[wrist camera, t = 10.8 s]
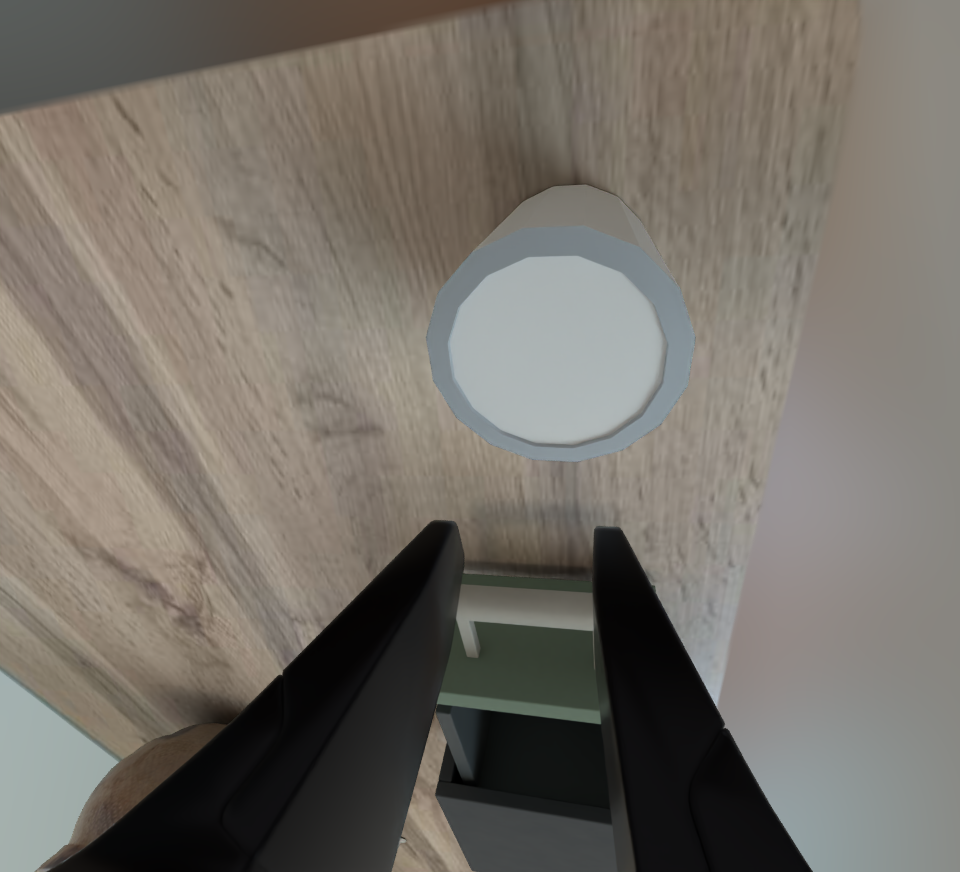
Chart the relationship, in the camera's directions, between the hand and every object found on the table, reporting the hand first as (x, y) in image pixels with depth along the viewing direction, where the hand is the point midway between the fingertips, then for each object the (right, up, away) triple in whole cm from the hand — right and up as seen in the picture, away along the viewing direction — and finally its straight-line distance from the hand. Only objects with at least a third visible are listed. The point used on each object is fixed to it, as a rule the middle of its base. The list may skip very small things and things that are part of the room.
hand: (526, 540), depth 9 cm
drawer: (+3, -9, +22) cm, 24 cm away
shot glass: (+2, +8, +10) cm, 13 cm away
